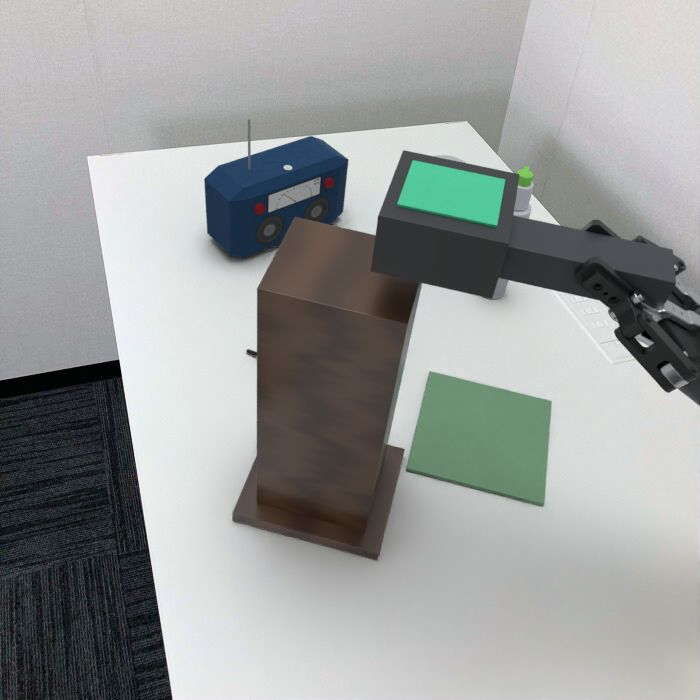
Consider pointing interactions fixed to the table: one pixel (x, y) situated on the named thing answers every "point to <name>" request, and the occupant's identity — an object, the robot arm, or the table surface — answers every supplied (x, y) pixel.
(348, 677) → the table surface
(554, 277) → the green-topped block with handle
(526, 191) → the bottle
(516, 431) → the mat
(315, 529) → the stand
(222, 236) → the radio
